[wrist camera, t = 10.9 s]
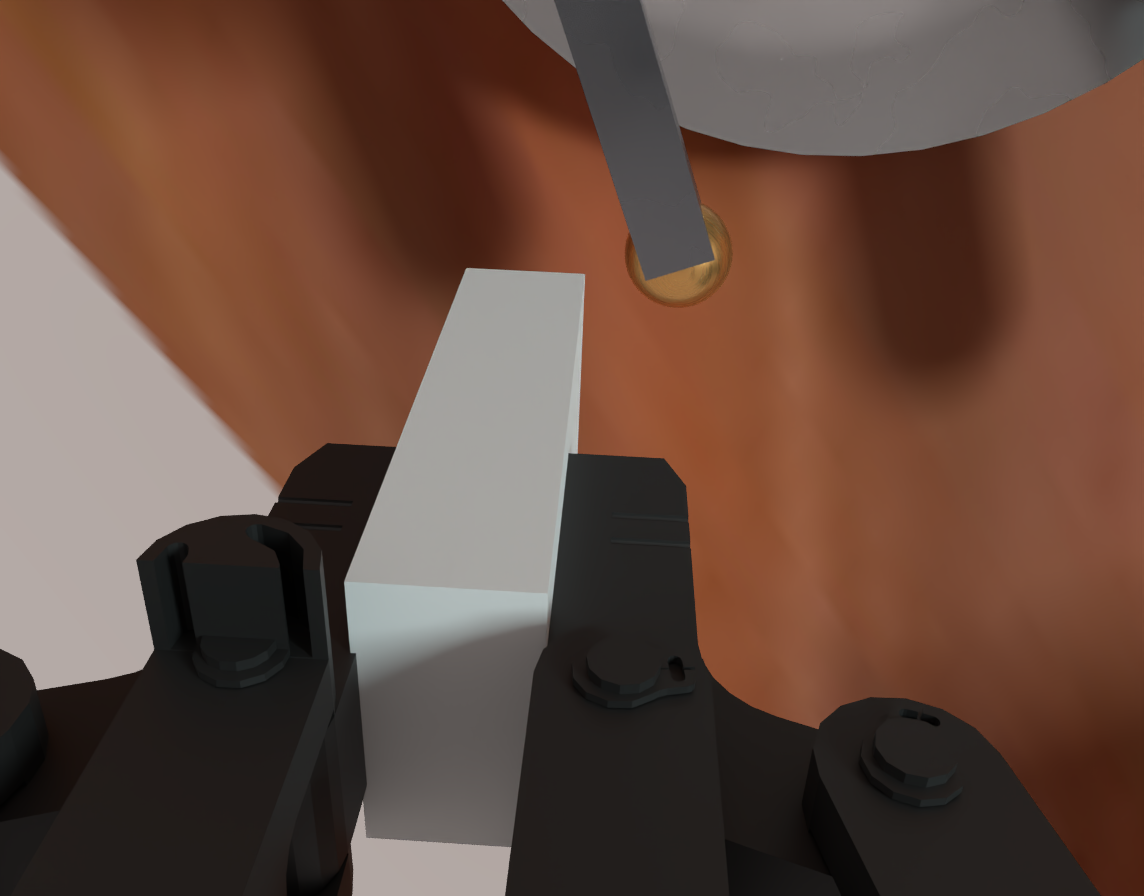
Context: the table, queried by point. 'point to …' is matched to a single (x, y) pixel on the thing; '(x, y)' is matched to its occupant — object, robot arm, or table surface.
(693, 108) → the tribrach plate
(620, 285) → the table surface
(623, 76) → the knob
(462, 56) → the table surface
